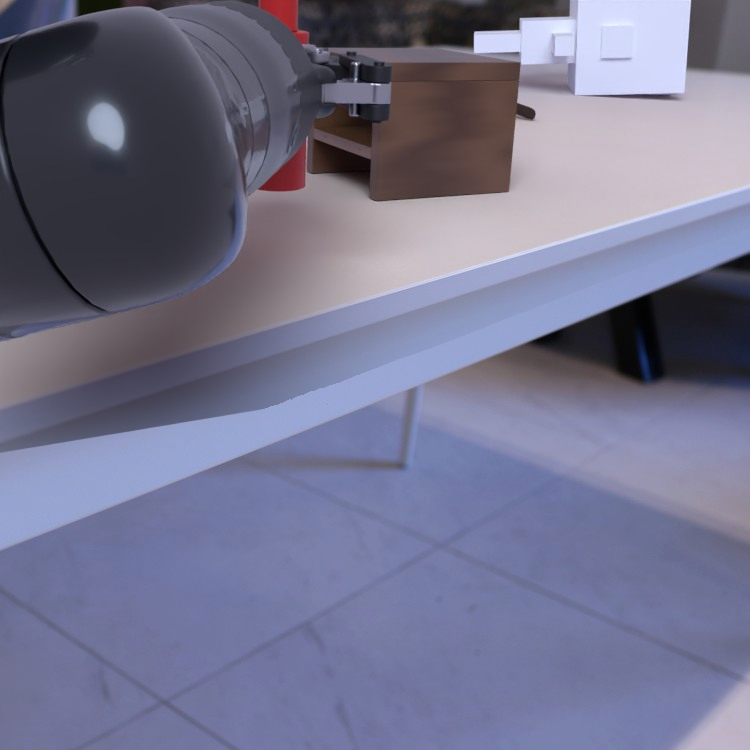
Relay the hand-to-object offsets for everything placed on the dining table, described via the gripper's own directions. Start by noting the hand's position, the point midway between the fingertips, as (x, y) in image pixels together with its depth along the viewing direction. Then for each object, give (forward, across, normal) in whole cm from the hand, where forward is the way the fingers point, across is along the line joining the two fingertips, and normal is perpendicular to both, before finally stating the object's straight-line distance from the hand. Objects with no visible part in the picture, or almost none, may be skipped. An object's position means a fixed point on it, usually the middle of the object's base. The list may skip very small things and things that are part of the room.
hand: (287, 65), depth 57 cm
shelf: (+19, -6, +10) cm, 22 cm away
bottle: (-3, 0, +6) cm, 7 cm away
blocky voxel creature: (+92, -23, +10) cm, 95 cm away
